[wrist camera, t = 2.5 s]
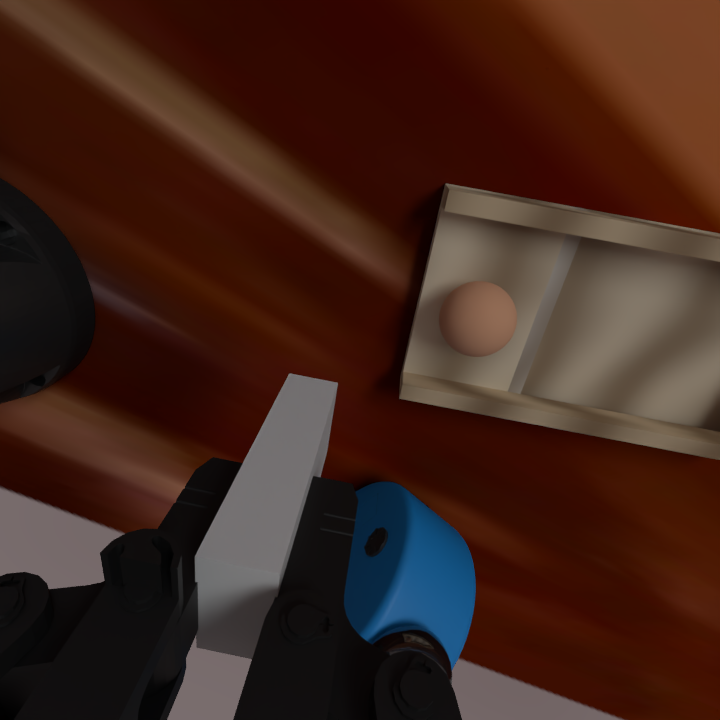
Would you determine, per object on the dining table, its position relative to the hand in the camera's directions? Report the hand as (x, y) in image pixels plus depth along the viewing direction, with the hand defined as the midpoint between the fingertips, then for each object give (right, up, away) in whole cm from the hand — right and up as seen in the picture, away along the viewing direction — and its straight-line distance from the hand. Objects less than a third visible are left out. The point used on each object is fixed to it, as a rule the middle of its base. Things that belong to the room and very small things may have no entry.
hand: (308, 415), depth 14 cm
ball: (+8, +4, +10) cm, 13 cm away
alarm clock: (+3, -10, +21) cm, 24 cm away
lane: (+16, +4, +12) cm, 21 cm away
